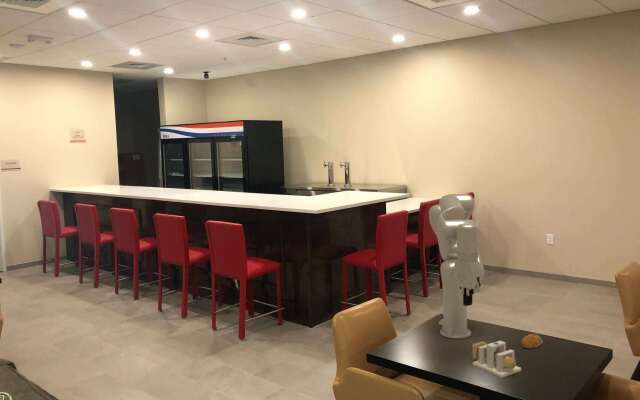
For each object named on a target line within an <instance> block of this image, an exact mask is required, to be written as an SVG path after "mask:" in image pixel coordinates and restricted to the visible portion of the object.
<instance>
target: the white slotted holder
mask: <svg viewBox="0 0 640 400" xmlns="http://www.w3.org/2000/svg"><path fill="white" fill-rule="evenodd" d="M486 348H487V358H485V354H484V349H486ZM497 348H498V349H497ZM497 350H498V352H500V353H498V354H496V362H497V363H496V362H494V351H497ZM505 355H507V356H509V357H512V358H514V359H516V357H515V350H513V349H508V350H507V342H505V341H502V340H498V341H495V342H490V343H486V345H484V346H480V347H479V358H478V359H477V360H476V361H472V362H471V364H472V366H474V367H476V368H478V369H481V370H483V371H484V372H487V373H489V374H492V375H494V376H496V377H498V378H501V379H503V378H505V377H509V376H511V375H514V374H516V373H519V372H521V371H522V367H521V366H520V367H519V366H518V365H516V366H515V367H514V368H513V369H511V368H508V367H506V366H504V365H503V356H505Z"/></svg>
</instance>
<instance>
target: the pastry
mask: <svg viewBox="0 0 640 400" xmlns="http://www.w3.org/2000/svg"><path fill="white" fill-rule="evenodd" d="M542 344H544V343H543V340H542V338H541V336H540V335H538V334H537V333H529V334H528V335H526V336H524V337H523V338H522V339H521V343H520V345H521V347H522V348H526V349H534V348H535V349H536V348H538V347H541V346H542Z"/></svg>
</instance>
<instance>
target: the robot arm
mask: <svg viewBox="0 0 640 400" xmlns="http://www.w3.org/2000/svg"><path fill="white" fill-rule="evenodd" d="M475 205H476V202H475V199H474V198H473V196H472V195H471V194H469V193H449V194H446V195H443V196H442V197H441V198H440V199H439V202H438V204H435V205H432V206H431V207H429V208H430V209H429V210H428V219H429V223H430V226H431V229H432V230H433V232H434V234H435V235H436V238H437V242H438V248H439V252H440V256H441V258H442V260H443V262H442V263H441V265H440V276H441V282H442V293H443V295H442V297H443V298H442V300H443V303H442V304H443V305H442V307H443V318H441V319H440V320H439V321H438V325H441V329H440V330H439V333H440V335H441V336H443V337H445V338H449V339H458V340H459V339H466V338H469V337H470V336H472V331H471V330H470V329H469V328H468V311H467V310H468V309H467V308H468V306H472V305H473V295H474V294H475V293H479V292H481V289H480V288H481V287H482V281H483V280H484V277H485V268H484V267H485V266H484V264H483V259H482V256H481V252H480V249H479V226H478V223H476V221H475V220H473V219H470V217H471V216H472V214H473V213H474V211H475V208H476V207H475Z"/></svg>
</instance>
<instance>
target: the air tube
mask: <svg viewBox="0 0 640 400" xmlns="http://www.w3.org/2000/svg"><path fill="white" fill-rule="evenodd" d="M484 345H487V342H486V341H479V342H476V343H472V358H473V359H475V360H479V347H480V346H484ZM498 353H500V352H499V351H497V350H496V351H494V362H496V354H498ZM484 354H485V358H487V348H486V349H484ZM496 363H497V362H496ZM503 365H504V366H506V367H508V368H511V369H513V368H514V367H515V366H517V359H516V358H515V359H514V358H512V357H509V356H508V355H505V356H503Z"/></svg>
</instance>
